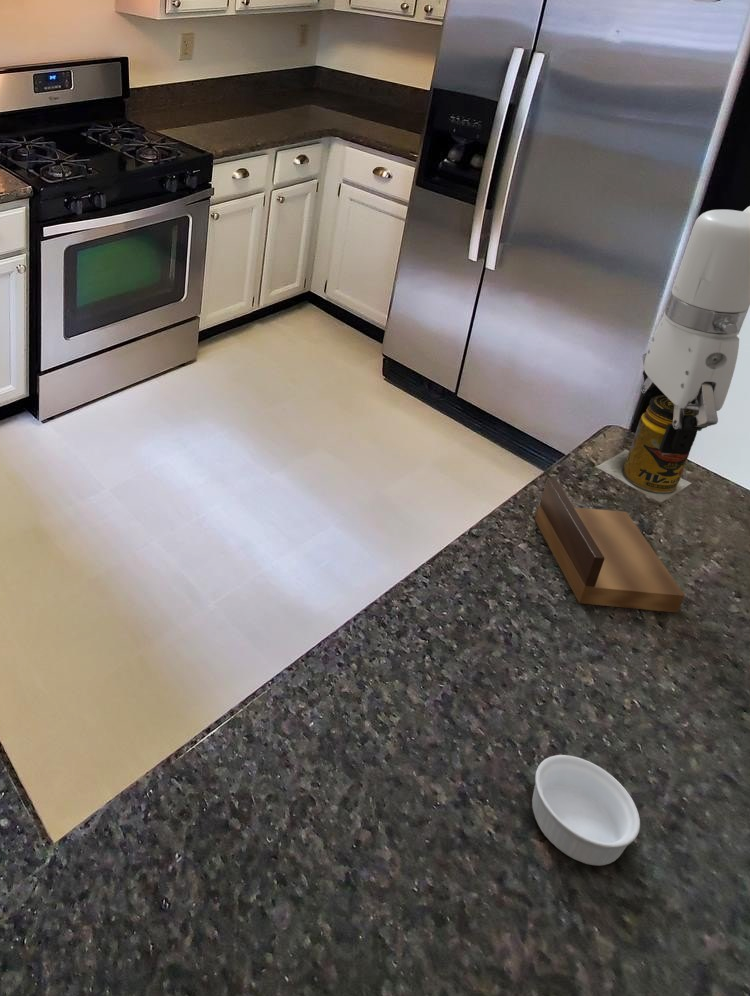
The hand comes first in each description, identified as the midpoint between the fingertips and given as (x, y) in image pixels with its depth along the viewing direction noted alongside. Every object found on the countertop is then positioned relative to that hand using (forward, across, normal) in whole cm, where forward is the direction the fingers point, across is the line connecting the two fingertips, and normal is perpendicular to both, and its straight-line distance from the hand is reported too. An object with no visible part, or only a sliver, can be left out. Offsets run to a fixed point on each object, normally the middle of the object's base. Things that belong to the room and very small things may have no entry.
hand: (660, 435), depth 103 cm
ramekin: (+21, -39, +20) cm, 49 cm away
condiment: (+7, +1, 0) cm, 7 cm away
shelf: (+21, -1, +2) cm, 21 cm away
